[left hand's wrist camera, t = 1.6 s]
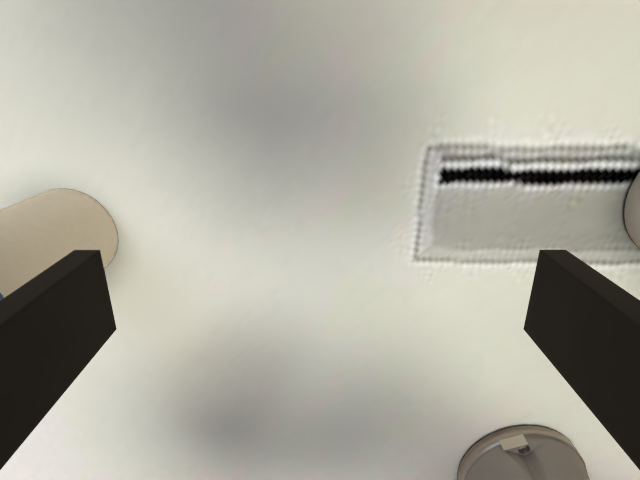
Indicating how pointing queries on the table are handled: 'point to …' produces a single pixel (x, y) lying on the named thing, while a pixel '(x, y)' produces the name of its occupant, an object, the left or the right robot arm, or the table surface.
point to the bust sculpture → (633, 211)
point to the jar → (51, 234)
